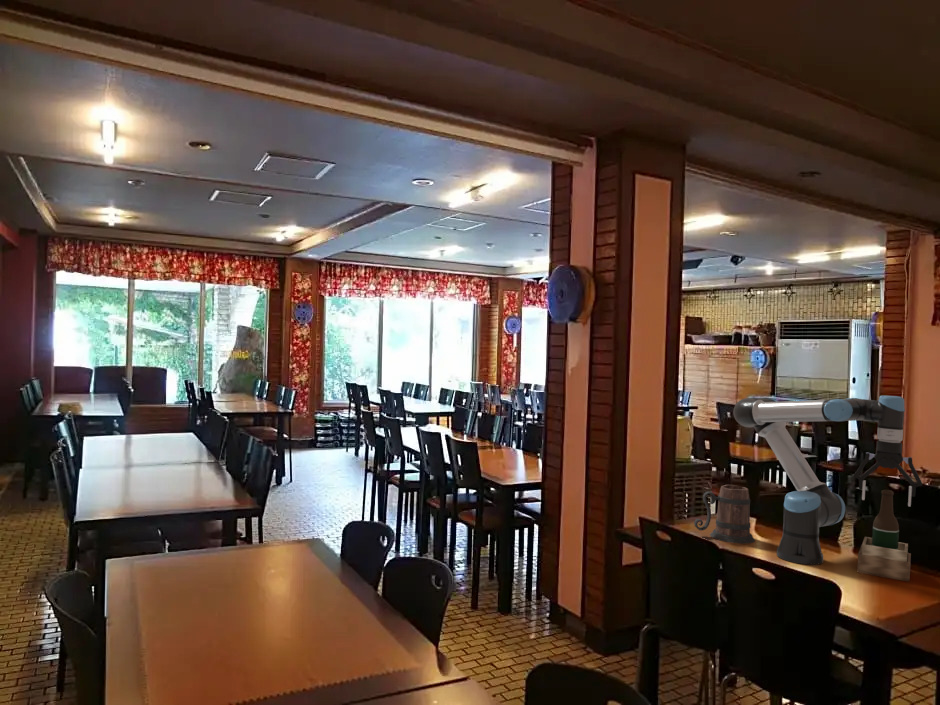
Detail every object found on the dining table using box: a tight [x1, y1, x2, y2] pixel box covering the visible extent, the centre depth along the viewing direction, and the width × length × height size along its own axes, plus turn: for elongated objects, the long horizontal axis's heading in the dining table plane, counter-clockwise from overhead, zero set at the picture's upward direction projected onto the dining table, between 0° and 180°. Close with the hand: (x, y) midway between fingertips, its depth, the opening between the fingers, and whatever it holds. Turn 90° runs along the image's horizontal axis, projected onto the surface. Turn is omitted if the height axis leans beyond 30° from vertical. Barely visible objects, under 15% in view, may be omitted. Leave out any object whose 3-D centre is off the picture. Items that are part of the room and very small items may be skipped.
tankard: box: [693, 484, 756, 544], centre depth 276 cm, size 24×17×20 cm
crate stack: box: [856, 536, 912, 583], centre depth 239 cm, size 15×15×9 cm
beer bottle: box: [871, 489, 900, 550], centre depth 239 cm, size 8×8×24 cm
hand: (885, 502), depth 239 cm, fingers open, 13 cm apart
